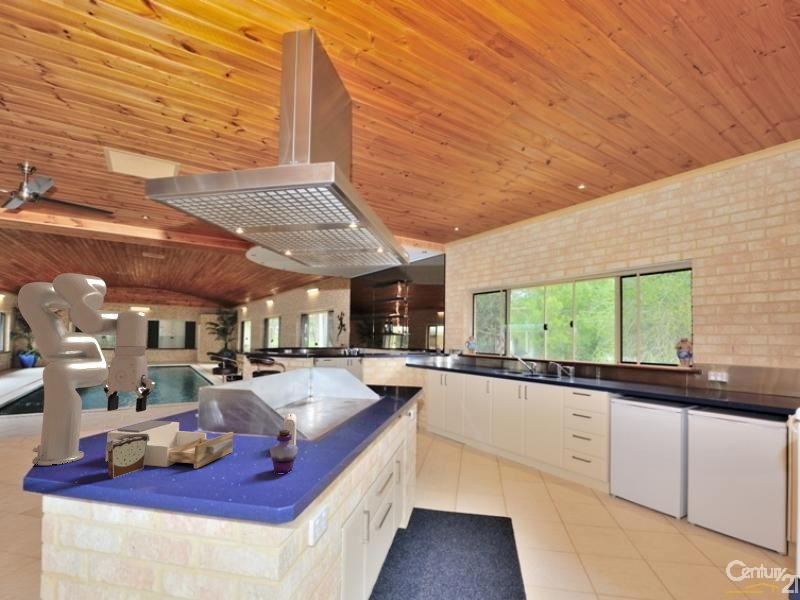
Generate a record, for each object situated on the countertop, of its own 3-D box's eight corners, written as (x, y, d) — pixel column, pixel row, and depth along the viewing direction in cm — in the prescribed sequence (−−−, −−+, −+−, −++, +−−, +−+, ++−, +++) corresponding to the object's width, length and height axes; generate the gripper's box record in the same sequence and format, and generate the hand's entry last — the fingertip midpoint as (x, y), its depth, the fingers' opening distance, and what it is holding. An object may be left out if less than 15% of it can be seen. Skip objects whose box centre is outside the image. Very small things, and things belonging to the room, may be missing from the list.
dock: (205, 450, 144) (207, 422, 145) (166, 466, 126) (168, 434, 127) (150, 446, 148) (152, 418, 149) (105, 461, 130) (107, 430, 131)
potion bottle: (288, 465, 130) (289, 426, 131) (303, 471, 124) (304, 430, 125) (262, 471, 124) (264, 430, 125) (277, 478, 118) (279, 435, 119)
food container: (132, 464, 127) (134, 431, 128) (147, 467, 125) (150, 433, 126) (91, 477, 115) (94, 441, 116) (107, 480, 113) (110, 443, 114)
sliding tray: (239, 452, 141) (240, 432, 142) (204, 469, 123) (205, 446, 124) (201, 449, 144) (203, 429, 145) (162, 465, 126) (163, 443, 127)
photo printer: (294, 452, 143) (296, 416, 144) (281, 453, 142) (283, 416, 143) (296, 444, 153) (297, 411, 154) (284, 445, 152) (285, 411, 153)
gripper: (94, 352, 121) (90, 412, 119) (145, 353, 118) (141, 414, 116) (116, 351, 128) (112, 407, 127) (164, 352, 125) (161, 409, 124)
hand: (126, 410), depth 122 cm, fingers open, 9 cm apart
